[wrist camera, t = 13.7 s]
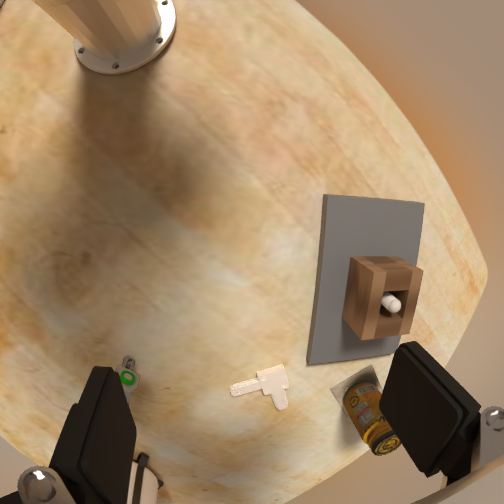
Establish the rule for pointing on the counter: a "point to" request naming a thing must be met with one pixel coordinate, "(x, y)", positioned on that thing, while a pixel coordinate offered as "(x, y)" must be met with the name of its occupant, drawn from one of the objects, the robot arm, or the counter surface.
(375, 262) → the hollow block
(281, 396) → the corner connector
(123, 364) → the mechanical component
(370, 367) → the condiment
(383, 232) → the pin board
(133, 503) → the coffee press
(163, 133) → the counter surface
